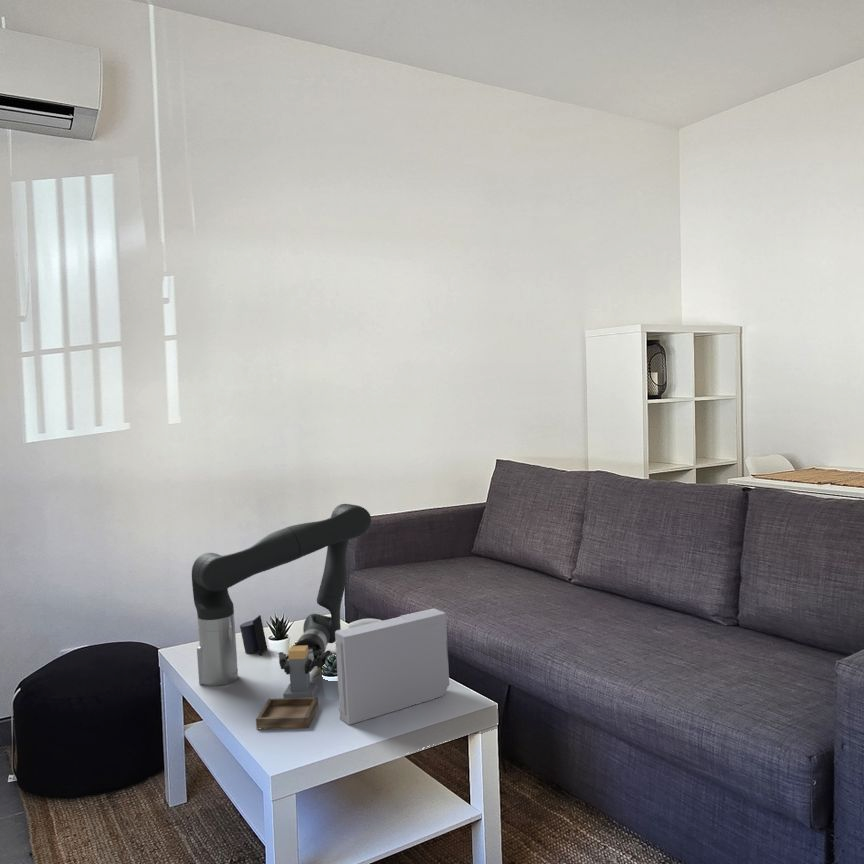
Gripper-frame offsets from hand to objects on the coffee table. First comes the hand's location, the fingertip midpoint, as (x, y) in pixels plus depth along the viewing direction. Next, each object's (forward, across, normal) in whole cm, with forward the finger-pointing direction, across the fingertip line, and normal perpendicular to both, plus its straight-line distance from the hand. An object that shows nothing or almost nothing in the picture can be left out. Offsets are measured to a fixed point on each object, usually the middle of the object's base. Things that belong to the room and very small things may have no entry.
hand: (297, 669), depth 191 cm
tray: (+11, 0, +7) cm, 13 cm away
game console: (+6, +24, +7) cm, 26 cm away
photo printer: (-23, +14, +7) cm, 28 cm away
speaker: (-37, -21, +7) cm, 43 cm away
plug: (-3, 0, +7) cm, 8 cm away
